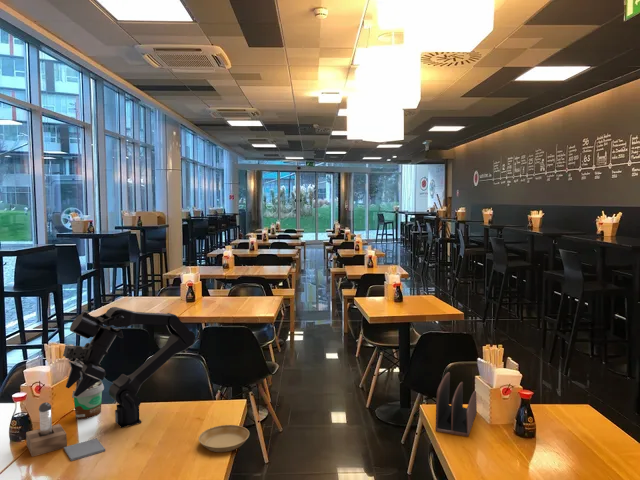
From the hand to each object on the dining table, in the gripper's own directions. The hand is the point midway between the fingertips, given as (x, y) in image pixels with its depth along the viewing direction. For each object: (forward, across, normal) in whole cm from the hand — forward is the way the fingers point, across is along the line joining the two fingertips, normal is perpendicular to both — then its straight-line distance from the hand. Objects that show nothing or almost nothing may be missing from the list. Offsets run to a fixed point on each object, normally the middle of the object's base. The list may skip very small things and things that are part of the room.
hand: (71, 391), depth 150 cm
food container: (+6, -15, +17) cm, 24 cm away
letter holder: (-43, +71, +88) cm, 121 cm away
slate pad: (+12, +10, +9) cm, 18 cm away
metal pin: (+16, 0, +2) cm, 16 cm away
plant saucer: (-6, +34, +36) cm, 50 cm away
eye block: (+16, 0, +2) cm, 16 cm away
